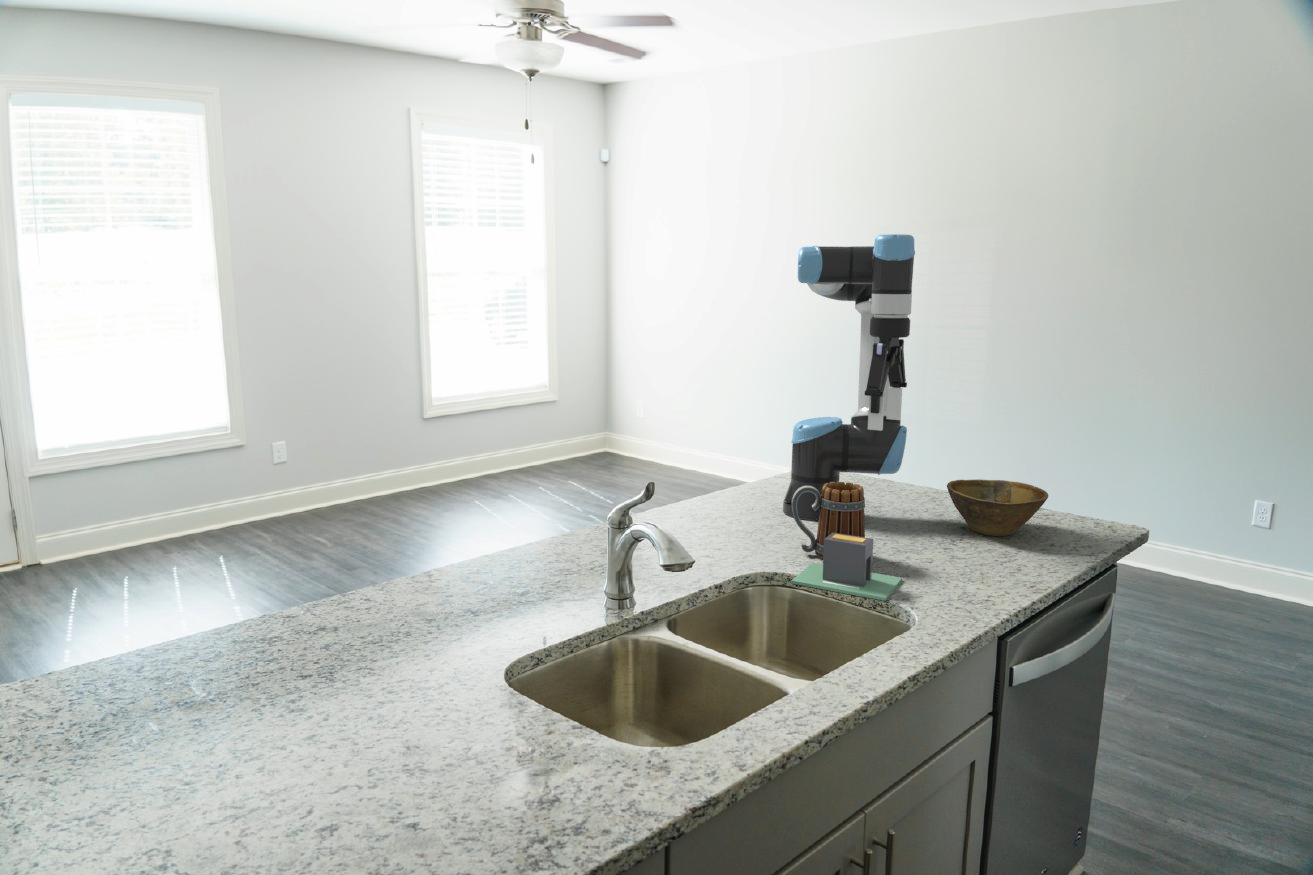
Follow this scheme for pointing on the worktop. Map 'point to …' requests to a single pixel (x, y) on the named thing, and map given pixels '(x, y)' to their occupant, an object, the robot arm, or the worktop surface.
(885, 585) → the board
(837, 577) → the grey slotted block
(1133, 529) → the worktop surface
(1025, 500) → the bowl
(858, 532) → the mug
